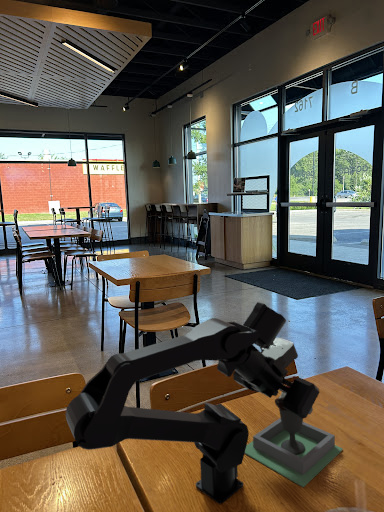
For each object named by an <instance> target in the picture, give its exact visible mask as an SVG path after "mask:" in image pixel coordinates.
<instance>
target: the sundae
mask: <svg viewBox="0 0 384 512" xmlns="http://www.w3.org/2000/svg"><path fill="white" fill-rule="evenodd" d="M294 379H296V375H294V376H292V381H291V382H293V381H294ZM287 387H288V386H287ZM289 388H290V387H289ZM285 396H286V393H284V392H282V391H281V393H280V396H278V397H277V398H275V399H274V403H275V406H276V407H277V408H278V410H279V418H281V422H282V426H283V428H284V429H285V430H286V431H287V432H289V434H290V439H289V440H285V441H283V442H282V443H281V448H283V449H285V450H287V451H289V452H291V453H293V454H295V455H297V454H301V453H302V452H304V450H305V446H304V445H303V443H301V442H300V441H298V440H295V433H296V432H298V431H299V430H300V429H301V427H302V423H303V422H304V419H301V418H300V417H298V416H296V415H294V414H293V413H291V412H289V411H288V410H286V409H285V408H284V407H283V399H284V397H285Z"/></svg>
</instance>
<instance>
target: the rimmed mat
mask: <svg viewBox="0 0 384 512" xmlns="http://www.w3.org/2000/svg"><path fill="white" fill-rule="evenodd" d="M335 438H336V437H335V435H334V434H332V433H331V432H328V431H325V430H323V429H321V428H319V427H316V426H314V425H311V424H310V423H307V422H305V421H303V423H302V427H301V429H300V430H299V431H298V432H296V433H295V440H298V441H300V442H301V443H303V445H304V446H305V450H304V452H302V453H301V454H297V455H295V454H293V453H291V452H289V451H287V450H285V449H283V448H281V443H282V442H283V441H285V440H289V439H290V434H289V432H287V431H286V430H285V429H284V428H283V426H282V422H281V417H279V418H278V419H276V420H275V421H273V422H272V423H271V424H269V425H268V426H266V427H265V428H263V429H262V430H260V431H259V432H257V433H256V434H254V435H253V436H252V441H250V442H249V443H247V446H246V449H245V453H244V455H246V456H248V457H250V458H251V459H253V460H255V461H257V462H258V463H260V464H262V465H264V466H266V467H267V468H268V469H270V470H272V471H274V472H276V473H278V475H281V476H282V477H285V479H287V480H289V481H291V482H293V483H295V484H296V485H298V486H300V487H301V488H304V487H306V486H307V484H309V483H310V482H311V480H313V479H314V478H315V477H316V476H317V475H318V474H319V473H320V472H321V471H322V470H324V469H325V467H326V466H328V465H329V463H331V462H332V461H333V460H334V459H335V458H337V456H338V455H339V454H340V453H341V452H343V449H344V448H342V447H340V446H338V445H336V443H335V442H336V441H335V440H336V439H335Z"/></svg>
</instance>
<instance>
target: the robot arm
mask: <svg viewBox="0 0 384 512" xmlns="http://www.w3.org/2000/svg"><path fill="white" fill-rule="evenodd" d="M286 322H287V320H286V318H285V317H284V315H282V314H281V313H278V312H277V311H275V310H274V309H273V308H270V307H269V306H267V304H265V303H264V302H263V303H262V302H260V301H257V302H256V303H255V305H254V306H253V308H252V311H251V312H250V314H249V315H248V316H247V318H246V319H245V321H244V322H243V324H241V323H239V322H236V321H224V320H222V319H220V318H216V317H214V318H213V317H212V318H210V319H207V320H205V321H203V322H201V323H199V324H198V325H195V326H194V327H193V328H192V329H191V331H189V332H188V333H185V334H183V335H180V336H177V337H174V338H169V339H167V340H164V341H160V342H158V343H154V344H151V345H148V346H144V347H141V348H136V349H134V350H131V351H127V352H123V353H115V354H113V355H111V356H110V357H109V358H108V360H107V361H106V362H105V364H104V365H103V367H102V368H101V369H100V370H99V371H98V372H97V373H96V374H95V375H94V376H93V377H92V378H90V379H89V380H88V381H87V383H86V384H85V385H84V387H83V388H82V390H81V391H80V393H79V394H78V395H77V396H75V397H74V398H72V400H70V402H69V403H68V405H67V407H66V409H65V418H66V419H65V420H66V423H67V424H68V427H69V429H70V431H71V434H72V436H73V438H74V439H73V440H75V442H76V444H77V445H78V447H79V448H81V449H83V450H88V451H89V450H90V451H91V450H99V449H105V448H111V447H114V446H116V445H117V444H119V443H121V442H123V441H125V440H143V441H144V440H145V441H160V442H161V441H162V442H182V443H183V442H184V443H193V444H194V445H195V448H196V449H198V450H199V451H200V453H202V457H201V458H200V459H199V460H200V462H199V463H200V480H198V481H197V482H195V487H196V488H197V490H199V491H201V492H202V493H204V494H205V495H206V496H207V497H209V498H210V499H212V500H213V501H214V502H215V503H217V504H218V505H222V504H223V503H224V502H226V501H227V500H229V499H230V498H231V497H232V496H233V495H234V494H236V493H237V492H239V491H240V490H241V489H242V488H243V487H244V482H243V481H241V480H240V479H239V478H238V477H239V476H238V466H240V465H242V464H243V461H244V456H245V449H246V446H247V445H248V442H249V441H248V440H249V433H250V432H249V429H248V428H249V427H248V425H247V424H245V423H244V421H242V419H241V418H240V417H239V416H237V415H236V414H235V413H234V412H232V411H231V410H230V409H229V408H227V406H225V405H223V404H222V403H218V404H212V403H209V402H205V403H204V408H203V410H201V411H199V412H197V413H194V412H187V411H186V412H184V411H176V410H175V411H174V410H165V409H163V410H162V409H153V408H145V407H143V408H142V407H134V406H126V401H127V399H128V397H129V393H130V390H131V389H132V388H133V386H134V385H135V383H136V382H138V381H142V380H145V379H147V378H150V377H153V376H156V375H159V374H161V373H166V372H168V371H171V370H173V369H176V368H179V367H181V366H185V365H188V364H190V363H193V362H197V361H214V362H215V361H218V362H217V365H216V369H217V371H218V372H220V373H221V374H224V375H225V376H226V377H228V378H230V377H231V376H233V377H232V378H233V380H234V381H235V382H236V383H237V384H238V385H240V386H243V387H244V388H246V389H247V390H250V391H253V392H257V393H260V394H263V395H264V396H266V397H268V398H270V399H271V398H272V397H273V396H274V397H276V396H278V394H279V391H280V392H281V393H282V392H284V393H286V396H285V397H284V399H283V407H284V408H285V409H286V410H288V411H289V412H291V413H293V414H294V415H296V416H298V417H300V418H301V419H303V420H304V419H307V417H308V415H311V414H312V412H313V411H314V409H313V408H314V407H313V405H314V404H315V402H316V400H317V398H318V396H319V394H320V393H321V392H320V389H319V387H318V386H317V385H316V384H315V383H313V382H311V381H308V380H306V379H304V378H302V377H299V376H298V377H297V378H295V379H293V380H292V381H293V382H292V381H290V380H288V379H286V376H287V375H288V373H289V371H288V370H287V369H286V368H288V367H289V366H290V365H291V363H293V362H294V361H295V360H297V359H298V357H299V354H298V352H297V349H296V346H295V343H294V342H293V341H290V340H288V339H285V338H283V337H278V334H279V333H280V332H281V330H282V329H283V328H284V325H285V324H286ZM255 345H256V346H258V347H259V348H260V350H259V349H258V348H257V347H256V346H255ZM287 386H288V387H287ZM289 387H290V388H289Z"/></svg>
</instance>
